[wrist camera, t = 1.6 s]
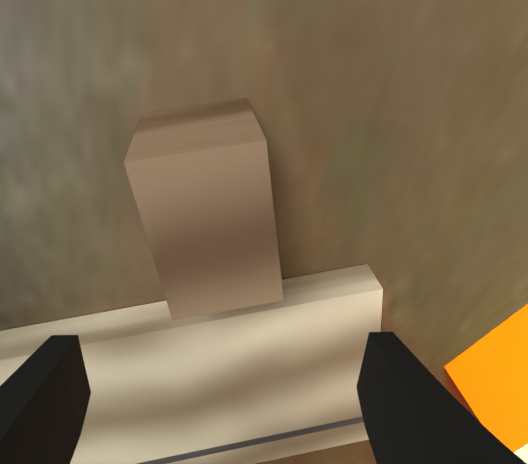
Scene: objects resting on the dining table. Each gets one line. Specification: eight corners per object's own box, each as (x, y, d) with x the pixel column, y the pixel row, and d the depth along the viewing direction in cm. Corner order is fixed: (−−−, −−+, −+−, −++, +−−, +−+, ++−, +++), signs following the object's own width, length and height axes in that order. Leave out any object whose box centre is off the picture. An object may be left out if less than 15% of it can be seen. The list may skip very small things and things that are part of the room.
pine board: (-272, 380, 19) (-317, 419, 17) (367, 264, 21) (382, 288, 19) (-115, 509, 25) (-138, 547, 24) (362, 409, 27) (374, 438, 26)
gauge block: (141, 113, 16) (123, 162, 11) (246, 97, 16) (266, 140, 12) (184, 275, 20) (183, 355, 16) (267, 260, 20) (287, 335, 16)
